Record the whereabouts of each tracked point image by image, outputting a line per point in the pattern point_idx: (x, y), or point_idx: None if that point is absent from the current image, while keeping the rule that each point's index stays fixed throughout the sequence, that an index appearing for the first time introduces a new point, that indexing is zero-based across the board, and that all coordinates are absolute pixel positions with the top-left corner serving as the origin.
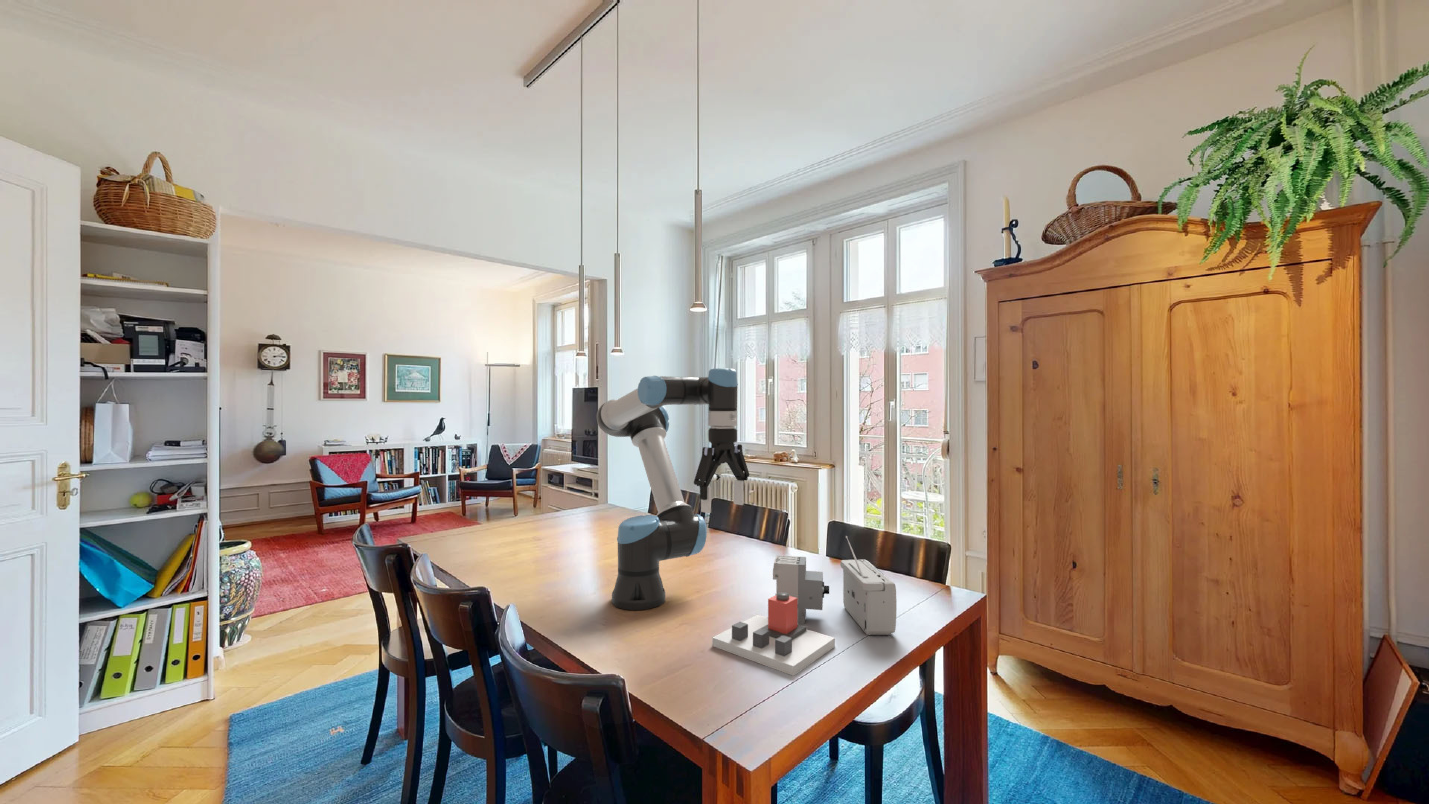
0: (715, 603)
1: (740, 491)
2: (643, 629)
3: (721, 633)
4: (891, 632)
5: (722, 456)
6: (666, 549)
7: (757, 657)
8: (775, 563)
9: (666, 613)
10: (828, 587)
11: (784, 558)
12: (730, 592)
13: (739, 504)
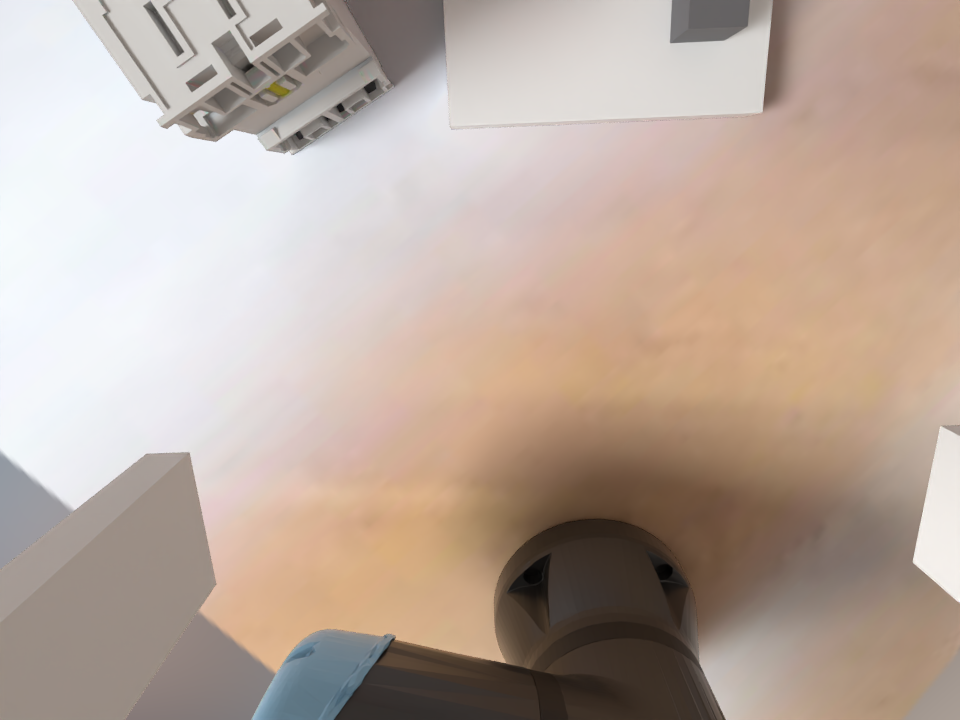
0: (415, 391)
1: (39, 627)
2: (773, 411)
3: (709, 110)
4: None
5: None
6: (564, 693)
7: None
8: (312, 6)
9: (614, 454)
10: None
11: (175, 24)
12: (282, 426)
13: (196, 493)
